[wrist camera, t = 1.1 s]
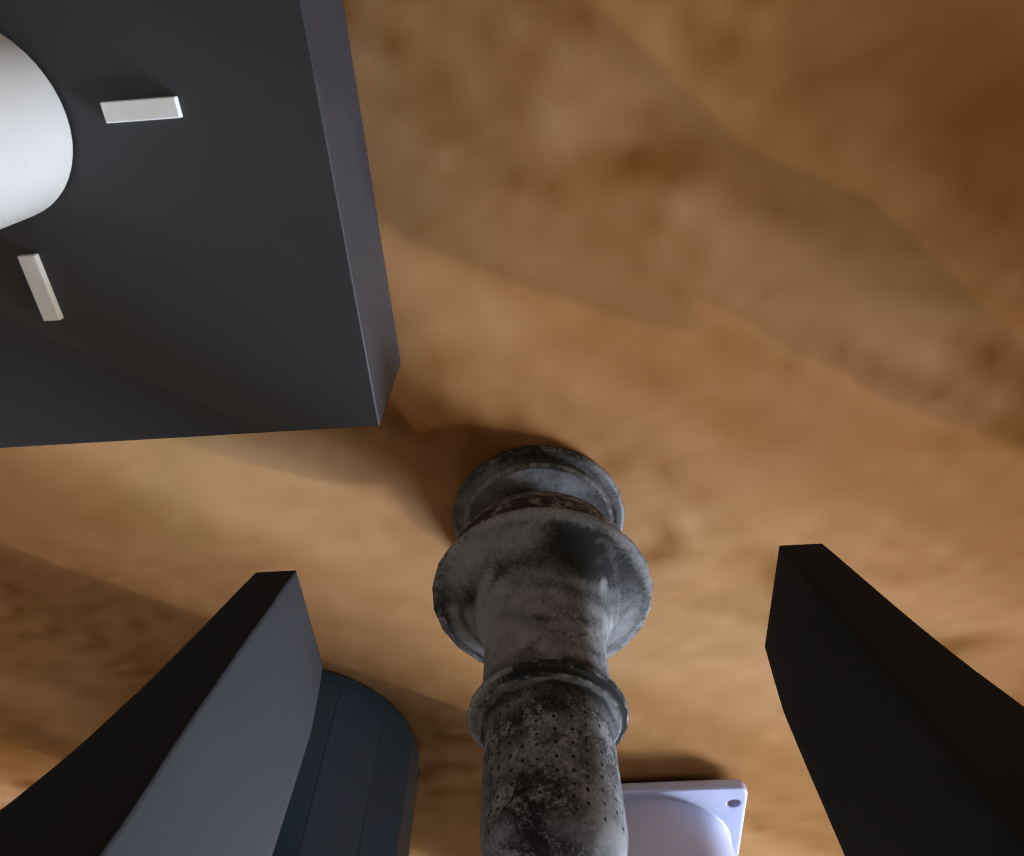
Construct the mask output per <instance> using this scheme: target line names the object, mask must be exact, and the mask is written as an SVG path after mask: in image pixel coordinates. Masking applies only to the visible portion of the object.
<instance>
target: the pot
mask: <svg viewBox="0 0 1024 856" xmlns="http://www.w3.org/2000/svg"><path fill="white" fill-rule="evenodd" d="M418 777H419V768H418V748H417V744H416V741H415V737H414V735H413V733H412V731H411V729H410V727H409V725H408V723H407V722H406V721H405V719H404V718H403V717H402V715H401V714H400V713H399V712H398V711H397V710H396V709H395V708H394V707H393V706H392V705H391V704H390V703H389V702H388V701H386V700H385V699H384V698H383V697H381V696H380V695H379V694H377V693H375V692H374V691H372V690H371V689H369V688H367V687H366V686H364V685H362V684H360V683H358V682H356V681H354V680H352V679H349V678H346V677H344V676H341V675H339V674H336V673H333V672H329V671H325V670H322V675H321V681H320V687H319V692H318V698H317V704H316V709H315V714H314V719H313V724H312V729H311V733H310V737H309V740H308V743H307V747H306V750H305V753H304V756H303V760H302V763H301V766H300V769H299V772H298V776H297V779H296V782H295V785H294V788H293V792H292V795H291V798H290V801H289V804H288V807H287V810H286V814H285V817H284V820H283V823H282V826H281V829H280V832H279V835H278V839H277V842H276V845H275V848H274V851H273V854H272V856H408V855H409V847H410V839H411V831H412V823H413V816H414V808H415V800H416V792H417V784H418Z"/></svg>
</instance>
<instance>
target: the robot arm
mask: <svg viewBox="0 0 1024 856" xmlns="http://www.w3.org/2000/svg"><path fill="white" fill-rule="evenodd" d="M765 648H766V652H767V656H768V659H769V663H770V667H771V670H772V674H773V677H774V681H775V684H776V688H777V691H778V694H779V698H780V701H781V704H782V708H783V711H784V714H785V716H786V718H787V721H788V723H789V726H790V728H791V731H792V733H793V735H794V738H795V740H796V742H797V745H798V747H799V750H800V752H801V754H802V757H803V759H804V761H805V764H806V766H807V769H808V771H809V773H810V776H811V778H812V780H813V783H814V785H815V787H816V790H817V792H818V794H819V797H820V799H821V801H822V804H823V806H824V808H825V811H826V813H827V815H828V818H829V820H830V822H831V825H832V827H833V829H834V832H835V834H836V836H837V839H838V841H839V843H840V846H841V848H842V850H843V853H844V855H845V856H1024V706H1022V705H1021V704H1019V703H1018V702H1017V701H1015V700H1014V699H1013V698H1011V697H1010V696H1009V695H1007V694H1006V693H1005V692H1003V691H1002V690H1000V689H999V688H998V687H996V686H995V685H994V684H992V683H991V682H990V681H988V680H987V679H986V678H984V677H983V676H982V675H980V674H979V673H977V672H976V671H975V670H973V669H972V668H971V667H970V666H968V665H967V664H966V663H964V662H963V661H962V660H961V659H959V658H958V657H957V656H955V655H954V654H953V653H952V652H950V651H949V650H948V649H947V648H945V647H944V646H943V645H942V644H940V643H939V642H938V641H937V640H935V639H934V638H933V637H932V636H930V635H929V634H928V633H927V632H925V631H924V630H923V629H922V628H921V627H919V626H918V625H917V624H916V623H914V622H913V621H912V620H911V619H910V618H908V617H907V616H906V615H905V614H904V613H902V612H901V611H900V610H899V609H898V608H896V607H895V606H894V605H893V604H892V603H891V602H889V601H888V600H887V599H886V598H885V597H884V596H882V595H881V594H880V593H879V592H878V591H877V590H875V589H874V588H873V587H872V586H871V585H870V584H868V583H867V582H866V581H865V580H864V579H863V578H862V577H860V576H859V575H858V574H857V573H856V572H855V571H853V570H852V569H851V568H850V567H849V566H848V565H846V564H845V563H844V562H843V561H842V560H841V559H840V558H838V557H837V556H836V555H835V554H834V553H832V552H831V551H830V550H829V549H828V548H826V547H825V546H824V545H823V544H805V545H785V546H779V553H778V560H777V567H776V574H775V581H774V588H773V595H772V601H771V608H770V615H769V622H768V629H767V636H766V643H765ZM322 669H323V665H322V662H321V658H320V655H319V651H318V648H317V644H316V641H315V637H314V633H313V630H312V626H311V623H310V619H309V616H308V612H307V608H306V605H305V601H304V598H303V594H302V591H301V587H300V584H299V580H298V576H297V573H296V571H277V572H258V573H255V574H254V575H253V576H252V577H251V578H250V579H249V580H248V581H247V582H246V583H245V584H244V585H243V586H242V587H241V588H240V589H239V590H238V591H237V592H236V593H235V594H234V596H233V597H232V598H231V599H230V600H229V601H228V602H227V603H226V604H225V605H224V606H223V607H222V608H221V609H220V610H219V611H218V612H217V613H216V614H215V615H214V616H213V617H212V618H211V619H210V621H209V622H208V623H207V624H206V625H205V626H204V627H203V628H202V629H201V630H200V631H199V632H198V633H197V634H196V635H195V636H194V637H193V638H192V639H191V640H190V641H189V642H188V643H187V644H186V645H185V646H184V647H183V648H182V649H181V650H180V651H179V652H178V653H177V654H176V655H175V656H174V657H173V658H172V659H171V660H170V661H169V662H168V663H167V664H166V665H165V666H164V667H163V668H162V669H161V670H160V671H159V672H158V673H157V674H156V675H155V676H154V677H153V678H152V679H151V680H150V681H149V682H148V683H147V684H146V685H145V686H144V687H143V688H142V689H141V690H139V691H138V692H137V693H136V694H135V695H134V696H133V697H132V698H131V699H130V700H129V701H128V702H127V703H126V704H124V705H123V706H122V707H121V708H120V709H119V710H118V711H117V712H116V713H115V714H114V715H113V716H112V717H110V718H109V719H108V720H107V721H106V722H105V723H104V724H103V725H102V726H101V727H100V728H99V729H98V730H96V731H95V732H94V733H93V734H92V735H91V736H90V737H89V738H88V739H87V740H85V741H84V742H83V743H82V744H81V745H80V746H79V747H77V748H76V749H75V750H74V751H73V752H72V753H70V754H69V755H68V756H67V757H66V758H65V759H63V760H62V761H61V762H60V763H59V764H58V765H56V766H55V767H54V768H53V769H52V770H50V771H49V772H48V773H47V774H45V775H44V776H43V777H42V778H40V779H39V780H38V781H37V782H35V783H34V784H33V785H32V786H31V787H29V788H28V789H27V790H26V791H24V792H23V793H22V794H21V795H19V796H18V797H17V798H16V799H14V800H13V801H12V802H11V803H9V804H8V805H7V806H6V807H4V808H3V809H2V810H0V856H272V854H273V851H274V848H275V845H276V842H277V839H278V835H279V832H280V829H281V826H282V823H283V820H284V817H285V814H286V810H287V807H288V804H289V801H290V798H291V795H292V792H293V788H294V785H295V782H296V779H297V776H298V772H299V769H300V766H301V763H302V760H303V756H304V753H305V750H306V747H307V743H308V740H309V737H310V733H311V729H312V724H313V719H314V714H315V709H316V704H317V698H318V692H319V687H320V681H321V675H322ZM621 787H622V794H623V802H624V809H625V816H626V823H627V830H628V837H629V840H628V853H627V856H738V853H739V846H740V840H741V833H742V826H743V820H744V813H745V806H746V800H747V790H746V786H745V784H744V783H743V782H742V781H740V780H738V779H720V780H695V781H670V782H644V783H621Z"/></svg>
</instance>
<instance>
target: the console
mask: <svg viewBox="0 0 1024 856" xmlns="http://www.w3.org/2000/svg"><path fill="white" fill-rule="evenodd" d="M0 33H1V34H2V35H3V36H5V37H6V38H8V39H9V40H11V41H12V42H13V43H14V44H16V45H17V46H18V47H19V48H20V49H21V50H23V51H24V52H25V53H26V54H27V55H28V56H29V57H30V58H31V59H32V60H33V61H34V62H35V63H36V65H37V66H38V67H39V68H40V70H41V71H42V72H43V73H44V75H45V76H46V77H47V79H48V80H49V82H50V83H51V85H52V86H53V88H54V90H55V92H56V93H57V95H58V97H59V99H60V101H61V103H62V106H63V108H64V111H65V113H66V116H67V119H68V123H69V126H70V130H71V136H72V143H73V159H72V167H71V171H70V175H69V179H68V181H67V183H66V186H65V188H64V190H63V191H62V193H61V194H60V196H59V197H58V198H57V200H56V201H55V202H54V203H53V204H52V205H51V206H49V207H48V208H47V209H45V210H44V211H42V212H40V213H38V214H36V215H34V216H32V217H30V218H27V219H25V220H22V221H20V222H17V223H15V224H12V225H10V226H7V227H5V228H2V229H0V448H7V447H24V446H41V445H57V444H74V443H91V442H108V441H125V440H142V439H159V438H176V437H193V436H210V435H227V434H244V433H261V432H278V431H295V430H312V429H329V428H346V427H363V426H378V425H380V422H381V419H382V416H383V413H384V410H385V407H386V404H387V401H388V398H389V395H390V392H391V389H392V386H393V383H394V380H395V377H396V374H397V371H398V368H399V365H400V358H399V351H398V345H397V339H396V333H395V326H394V320H393V314H392V308H391V301H390V295H389V289H388V283H387V276H386V270H385V264H384V257H383V251H382V245H381V239H380V232H379V226H378V220H377V214H376V207H375V201H374V195H373V189H372V182H371V176H370V170H369V164H368V157H367V151H366V145H365V138H364V132H363V126H362V120H361V113H360V107H359V101H358V95H357V88H356V82H355V76H354V70H353V63H352V57H351V51H350V45H349V38H348V32H347V26H346V19H345V13H344V7H343V1H342V0H0Z"/></svg>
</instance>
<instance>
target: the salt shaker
mask: <svg viewBox="0 0 1024 856" xmlns="http://www.w3.org/2000/svg"><path fill="white" fill-rule="evenodd" d="M453 518H454V531H455V534H456V536H457V540H456V541H455V542H453V543H452V544H451V546H450V547H449V549H448V550H447V552H446V553H445V555H444V556H443V558H442V559H441V561H440V562H439V564H438V568H437V571H436V575H435V579H434V583H433V587H432V590H433V602H434V611H435V613H436V615H437V617H438V619H439V622H440V624H441V626H442V628H443V630H444V631H445V633H446V634H447V635H448V636H449V637H450V638H451V639H452V641H453V642H454V643H455V644H456V645H457V646H458V647H459V648H460V649H462V650H463V651H465V652H466V653H467V654H469V655H470V656H472V657H473V658H475V659H476V660H478V661H479V662H482V663H484V676H483V683H482V684H481V686H480V687H479V688H478V689H477V691H476V692H475V693H474V695H473V696H472V699H471V702H470V705H469V709H468V725H469V730H470V732H471V734H472V736H473V738H474V741H475V742H476V743H477V744H478V745H479V746H480V747H481V749H482V750H483V751H484V754H483V777H482V801H481V824H480V848H481V855H482V856H627V853H628V840H629V837H628V830H627V823H626V816H625V809H624V802H623V794H622V787H621V780H620V773H619V766H618V759H617V751H616V746H617V744H618V743H619V742H620V741H621V740H622V738H623V736H624V734H625V731H626V729H627V727H628V717H629V711H628V707H627V703H626V700H625V697H624V695H623V693H622V692H621V690H620V689H619V688H618V686H617V685H616V684H615V682H613V681H612V680H611V679H610V677H609V670H608V663H607V659H608V658H609V657H610V656H612V655H613V654H615V653H616V652H618V651H619V650H621V649H622V648H624V647H625V646H626V645H627V644H628V643H629V642H630V640H631V639H632V638H633V637H634V636H635V635H636V634H637V633H638V631H639V630H640V629H641V627H642V625H643V623H644V621H645V619H646V617H647V615H648V613H649V610H650V607H651V599H652V590H653V586H652V581H651V577H650V573H649V569H648V565H647V562H646V560H645V559H644V557H643V556H642V554H641V553H640V551H639V549H638V548H637V546H636V545H635V543H634V542H633V541H632V540H630V539H629V538H628V537H627V536H626V535H625V534H623V533H622V530H623V522H624V508H623V504H622V500H621V496H620V492H619V490H618V488H617V487H616V485H615V483H614V482H613V480H612V479H611V477H610V475H609V474H608V473H607V472H606V471H604V470H603V469H602V468H601V467H600V466H599V465H598V464H596V463H595V462H594V461H593V460H591V459H589V458H587V457H585V456H583V455H580V454H578V453H576V452H574V451H571V450H567V449H562V448H558V447H553V446H526V447H522V448H518V449H513V450H509V451H505V452H503V453H501V454H499V455H497V456H495V457H493V458H491V459H489V460H487V461H485V462H484V463H483V464H481V465H480V466H479V467H478V468H477V469H476V470H475V471H473V472H472V473H471V474H470V475H469V476H468V478H467V479H466V481H465V482H464V484H463V485H462V487H461V489H460V490H459V492H458V495H457V499H456V502H455V506H454V510H453Z"/></svg>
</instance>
